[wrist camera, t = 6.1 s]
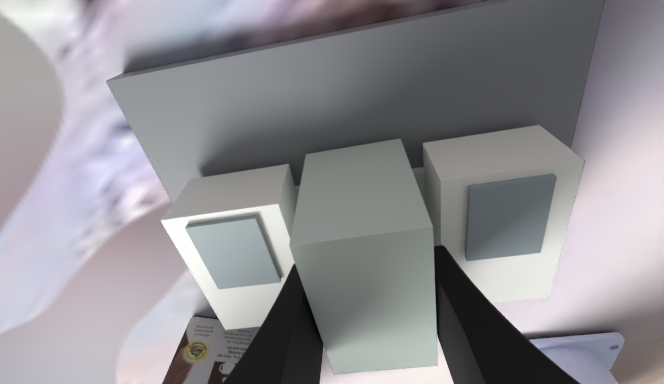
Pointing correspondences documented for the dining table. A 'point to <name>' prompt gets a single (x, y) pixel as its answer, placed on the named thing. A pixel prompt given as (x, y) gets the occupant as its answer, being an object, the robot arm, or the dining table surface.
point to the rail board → (375, 140)
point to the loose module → (367, 258)
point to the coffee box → (208, 352)
